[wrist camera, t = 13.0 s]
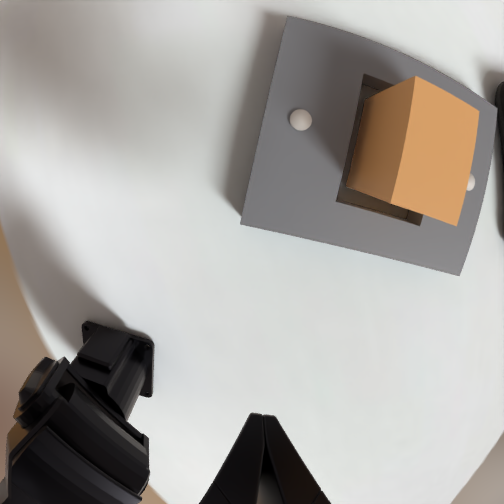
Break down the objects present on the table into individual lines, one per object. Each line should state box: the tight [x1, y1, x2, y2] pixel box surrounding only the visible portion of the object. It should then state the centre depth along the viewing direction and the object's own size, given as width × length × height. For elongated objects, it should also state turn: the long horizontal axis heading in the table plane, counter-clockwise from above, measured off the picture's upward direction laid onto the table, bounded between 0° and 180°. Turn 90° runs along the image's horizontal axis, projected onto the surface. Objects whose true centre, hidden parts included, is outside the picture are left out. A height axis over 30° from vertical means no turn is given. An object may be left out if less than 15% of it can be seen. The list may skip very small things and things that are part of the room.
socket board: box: [240, 16, 498, 276], centre depth 16 cm, size 13×16×2 cm
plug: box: [346, 76, 479, 226], centre depth 14 cm, size 6×4×7 cm, turn 168°
